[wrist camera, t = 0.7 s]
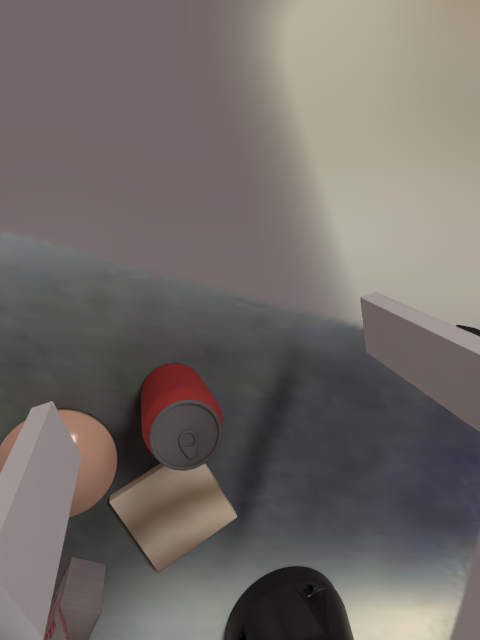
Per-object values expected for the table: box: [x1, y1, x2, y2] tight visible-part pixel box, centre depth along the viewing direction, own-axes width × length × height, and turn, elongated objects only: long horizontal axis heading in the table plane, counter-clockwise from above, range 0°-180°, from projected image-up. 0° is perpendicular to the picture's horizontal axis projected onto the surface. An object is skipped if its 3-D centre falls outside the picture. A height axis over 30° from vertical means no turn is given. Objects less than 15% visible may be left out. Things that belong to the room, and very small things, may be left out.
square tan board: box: [109, 463, 237, 573], centre depth 40 cm, size 10×10×1 cm
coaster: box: [0, 408, 118, 517], centre depth 36 cm, size 11×11×1 cm
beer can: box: [141, 363, 223, 471], centre depth 33 cm, size 7×7×12 cm
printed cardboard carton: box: [43, 557, 106, 640], centre depth 33 cm, size 4×7×10 cm, turn 155°
